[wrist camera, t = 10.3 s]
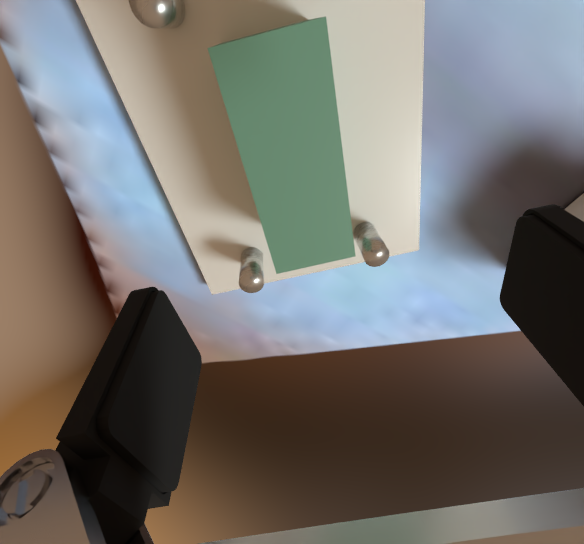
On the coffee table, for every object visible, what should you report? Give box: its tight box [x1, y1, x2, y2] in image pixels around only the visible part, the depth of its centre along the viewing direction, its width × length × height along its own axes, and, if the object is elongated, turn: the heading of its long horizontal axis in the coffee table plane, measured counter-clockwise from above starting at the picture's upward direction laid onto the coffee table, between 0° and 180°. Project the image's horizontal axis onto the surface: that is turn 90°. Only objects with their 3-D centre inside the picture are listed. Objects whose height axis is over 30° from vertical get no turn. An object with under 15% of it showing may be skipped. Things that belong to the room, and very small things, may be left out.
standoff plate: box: [76, 0, 425, 295], centre depth 21 cm, size 18×22×5 cm
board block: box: [207, 16, 356, 274], centre depth 20 cm, size 5×12×6 cm, turn 12°
